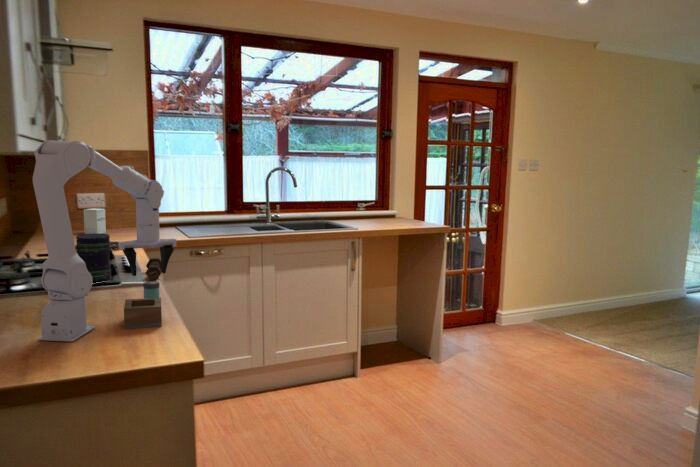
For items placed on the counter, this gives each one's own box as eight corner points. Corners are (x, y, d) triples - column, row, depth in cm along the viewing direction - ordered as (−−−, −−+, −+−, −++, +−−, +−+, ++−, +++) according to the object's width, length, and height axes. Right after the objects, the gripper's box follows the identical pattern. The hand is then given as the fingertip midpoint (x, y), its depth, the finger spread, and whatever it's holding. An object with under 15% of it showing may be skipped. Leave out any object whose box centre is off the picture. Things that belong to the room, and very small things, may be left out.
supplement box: (97, 234, 256) (96, 209, 254) (83, 234, 257) (82, 209, 256) (106, 232, 264) (105, 208, 262) (93, 232, 265) (92, 207, 263)
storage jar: (74, 279, 167) (72, 234, 165) (106, 276, 173) (105, 232, 171) (81, 286, 159) (80, 239, 157) (115, 282, 166) (113, 236, 163)
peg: (156, 310, 137) (155, 285, 136) (141, 309, 138) (140, 284, 137) (162, 306, 141) (161, 281, 140) (147, 305, 142) (147, 281, 141)
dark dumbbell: (150, 286, 169) (152, 275, 183) (164, 279, 170) (165, 267, 184) (141, 272, 167) (143, 261, 181) (155, 264, 168) (156, 254, 182)
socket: (161, 326, 125) (161, 306, 124) (124, 329, 122) (123, 309, 121) (161, 316, 133) (160, 297, 132) (126, 318, 130) (125, 299, 129)
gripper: (122, 227, 129) (123, 279, 131) (179, 225, 138) (180, 274, 140) (116, 224, 135) (117, 274, 137) (171, 221, 143) (172, 269, 145)
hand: (148, 273), depth 139 cm, fingers open, 7 cm apart
